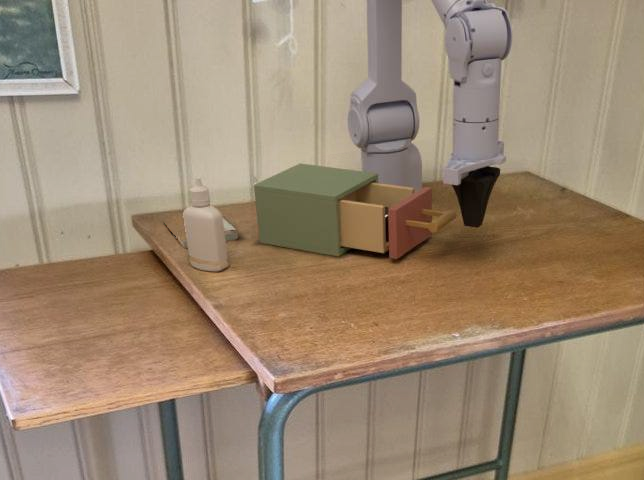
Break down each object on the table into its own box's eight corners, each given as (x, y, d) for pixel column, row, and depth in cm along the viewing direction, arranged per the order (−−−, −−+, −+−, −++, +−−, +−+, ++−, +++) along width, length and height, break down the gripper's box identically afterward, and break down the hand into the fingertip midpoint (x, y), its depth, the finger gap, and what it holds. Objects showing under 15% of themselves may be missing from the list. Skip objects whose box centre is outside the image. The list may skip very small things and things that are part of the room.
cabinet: (379, 230, 135) (378, 173, 130) (338, 256, 126) (335, 196, 122) (304, 218, 140) (299, 163, 136) (259, 243, 132) (253, 184, 127)
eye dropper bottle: (217, 257, 128) (206, 170, 121) (231, 269, 123) (220, 180, 117) (187, 263, 126) (174, 175, 119) (201, 276, 122) (188, 186, 115)
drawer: (463, 239, 128) (464, 191, 125) (429, 264, 121) (429, 214, 117) (357, 223, 135) (355, 177, 132) (319, 245, 128) (316, 198, 124)
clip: (381, 227, 131) (380, 203, 129) (405, 230, 129) (404, 206, 127) (363, 238, 127) (362, 214, 125) (387, 242, 125) (386, 218, 123)
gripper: (482, 134, 106) (478, 247, 114) (527, 108, 117) (521, 213, 124) (428, 128, 109) (428, 239, 117) (477, 103, 119) (474, 206, 127)
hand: (473, 225), depth 121 cm, fingers closed
